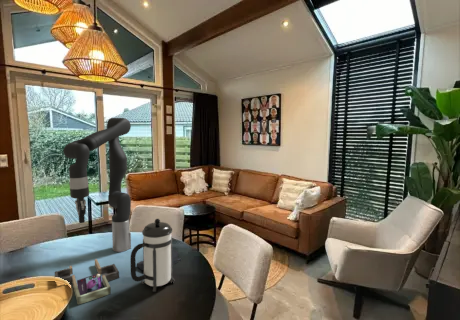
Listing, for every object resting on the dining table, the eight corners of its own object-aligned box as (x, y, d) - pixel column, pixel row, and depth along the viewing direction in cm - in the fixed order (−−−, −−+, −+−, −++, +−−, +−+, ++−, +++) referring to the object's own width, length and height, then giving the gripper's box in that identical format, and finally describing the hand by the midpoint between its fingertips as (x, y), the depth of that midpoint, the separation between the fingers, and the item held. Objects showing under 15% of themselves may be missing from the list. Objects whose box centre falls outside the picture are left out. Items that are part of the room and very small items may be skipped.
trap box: (109, 261, 136) (109, 255, 136) (125, 288, 112) (125, 282, 112) (54, 276, 121) (54, 269, 121) (59, 311, 98) (59, 303, 98)
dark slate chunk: (132, 267, 131) (131, 258, 131) (166, 251, 149) (166, 243, 148) (150, 277, 122) (150, 268, 122) (185, 259, 140) (185, 251, 139)
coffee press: (145, 273, 125) (144, 213, 122) (178, 274, 124) (178, 213, 121) (130, 296, 108) (128, 226, 104) (168, 297, 107) (168, 227, 104)
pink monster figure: (77, 280, 107) (100, 272, 113) (74, 279, 110) (97, 272, 117) (79, 297, 106) (103, 288, 112) (76, 296, 110) (99, 287, 116)
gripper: (91, 188, 117) (93, 224, 119) (85, 183, 127) (88, 216, 129) (71, 190, 112) (74, 228, 115) (67, 185, 123) (70, 220, 125)
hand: (81, 222), depth 122 cm, fingers closed
